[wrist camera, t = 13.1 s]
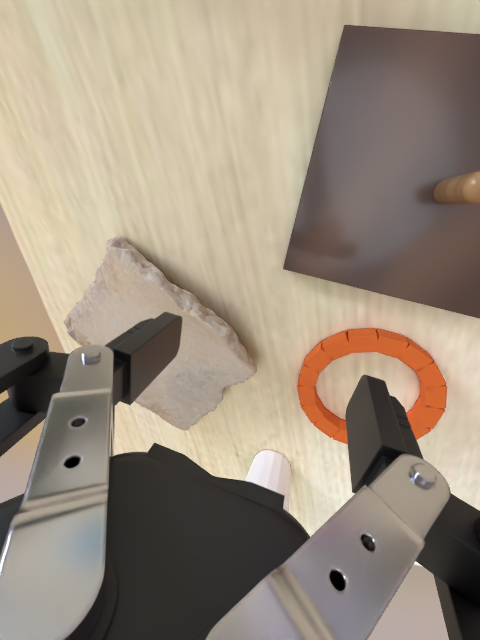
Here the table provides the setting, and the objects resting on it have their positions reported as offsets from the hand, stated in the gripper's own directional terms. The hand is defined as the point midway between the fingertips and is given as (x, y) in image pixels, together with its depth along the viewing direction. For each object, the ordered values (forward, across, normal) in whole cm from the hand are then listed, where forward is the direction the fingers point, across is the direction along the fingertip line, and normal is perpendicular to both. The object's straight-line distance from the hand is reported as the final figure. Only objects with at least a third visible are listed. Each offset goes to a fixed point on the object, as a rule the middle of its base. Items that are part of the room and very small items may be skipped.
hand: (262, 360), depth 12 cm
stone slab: (+20, +15, +13) cm, 28 cm away
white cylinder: (+19, -5, +30) cm, 36 cm away
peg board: (+20, -8, -9) cm, 23 cm away
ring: (+19, -11, +12) cm, 25 cm away
